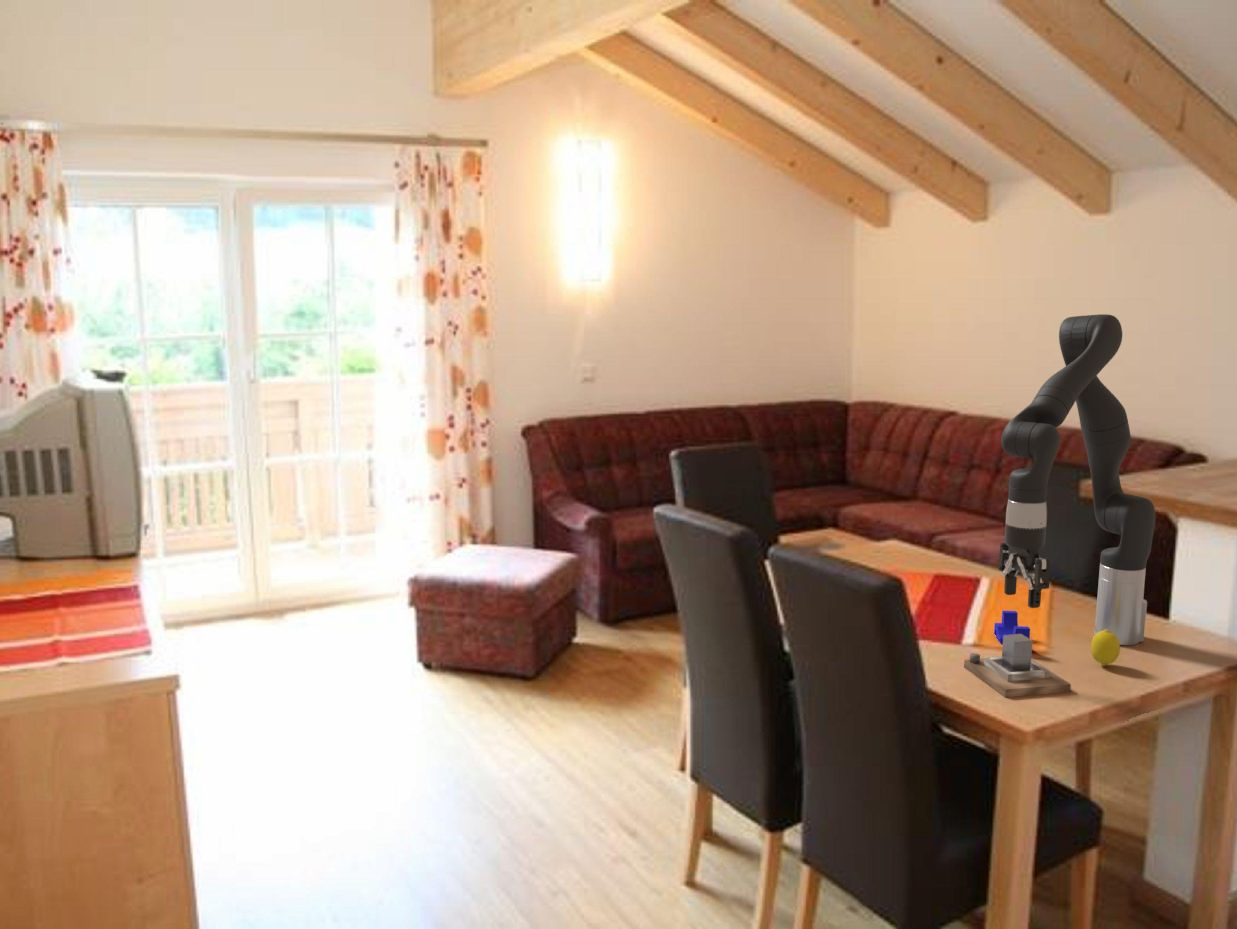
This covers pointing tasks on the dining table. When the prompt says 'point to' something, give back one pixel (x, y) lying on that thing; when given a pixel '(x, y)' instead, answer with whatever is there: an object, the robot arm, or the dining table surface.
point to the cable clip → (1010, 626)
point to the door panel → (1016, 677)
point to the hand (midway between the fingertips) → (1021, 600)
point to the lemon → (1105, 647)
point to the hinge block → (1016, 653)
